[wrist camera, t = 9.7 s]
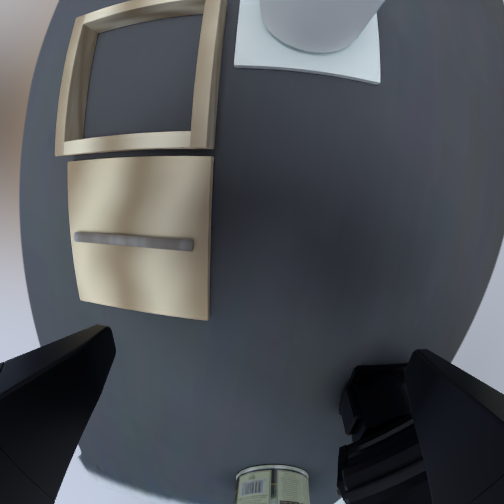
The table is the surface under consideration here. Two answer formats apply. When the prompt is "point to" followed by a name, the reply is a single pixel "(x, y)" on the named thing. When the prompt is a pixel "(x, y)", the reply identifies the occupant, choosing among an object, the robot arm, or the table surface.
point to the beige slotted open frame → (142, 179)
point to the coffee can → (272, 485)
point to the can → (318, 22)
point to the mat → (292, 59)
